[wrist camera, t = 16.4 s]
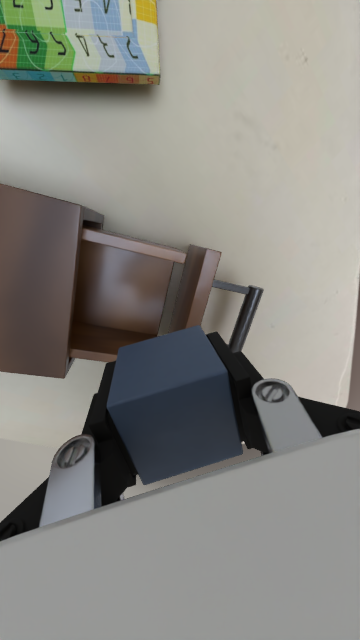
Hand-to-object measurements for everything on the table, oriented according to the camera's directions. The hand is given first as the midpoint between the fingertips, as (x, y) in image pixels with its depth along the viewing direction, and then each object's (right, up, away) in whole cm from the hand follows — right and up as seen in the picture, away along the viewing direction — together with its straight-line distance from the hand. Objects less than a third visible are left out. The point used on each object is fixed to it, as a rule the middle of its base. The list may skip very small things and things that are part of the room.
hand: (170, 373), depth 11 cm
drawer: (-2, +6, +13) cm, 14 cm away
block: (0, 0, 0) cm, 0 cm away
